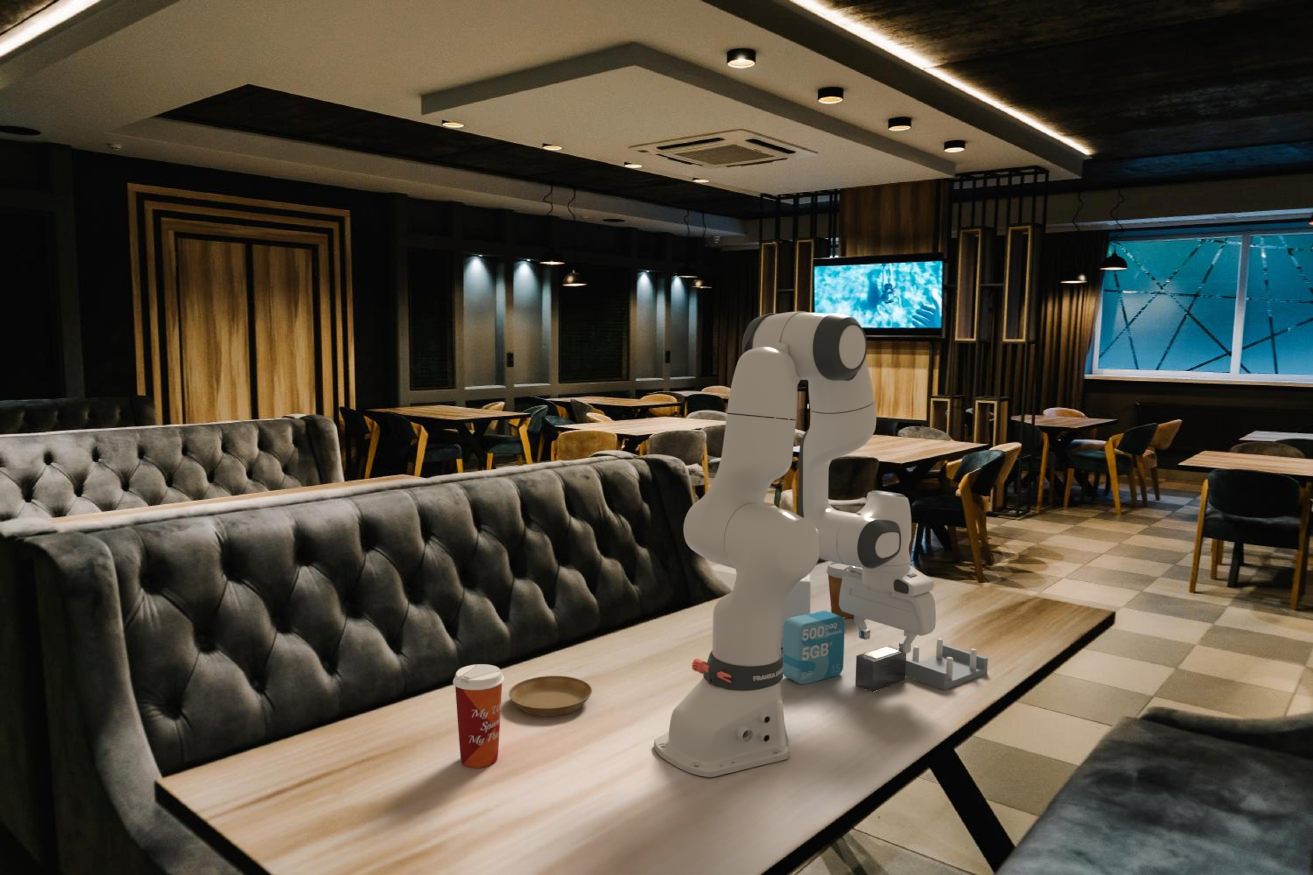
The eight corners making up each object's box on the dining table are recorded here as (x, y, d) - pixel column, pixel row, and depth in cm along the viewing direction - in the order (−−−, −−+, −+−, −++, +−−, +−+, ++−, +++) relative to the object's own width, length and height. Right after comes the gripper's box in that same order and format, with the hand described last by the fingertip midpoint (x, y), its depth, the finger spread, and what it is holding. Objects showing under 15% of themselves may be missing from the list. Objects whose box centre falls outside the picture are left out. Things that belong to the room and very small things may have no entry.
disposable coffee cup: (868, 620, 208) (870, 570, 207) (828, 619, 208) (830, 570, 207) (860, 608, 217) (861, 561, 216) (821, 607, 217) (823, 560, 216)
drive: (872, 692, 164) (873, 660, 164) (855, 686, 168) (856, 654, 167) (905, 680, 171) (906, 650, 170) (888, 674, 174) (889, 644, 173)
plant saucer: (545, 730, 147) (545, 715, 147) (491, 705, 157) (491, 690, 157) (609, 704, 158) (609, 690, 157) (554, 682, 168) (554, 669, 167)
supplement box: (809, 636, 196) (811, 570, 194) (809, 650, 187) (811, 581, 185) (768, 633, 197) (770, 568, 196) (766, 647, 188) (767, 578, 187)
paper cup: (480, 776, 130) (479, 685, 129) (443, 762, 134) (441, 674, 133) (515, 755, 137) (515, 668, 135) (479, 743, 141) (478, 659, 139)
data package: (797, 686, 167) (799, 624, 166) (781, 678, 171) (783, 618, 169) (843, 674, 173) (845, 615, 172) (827, 667, 177) (829, 609, 176)
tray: (944, 690, 166) (945, 663, 165) (899, 674, 174) (900, 648, 173) (987, 673, 175) (988, 647, 174) (943, 658, 182) (944, 634, 182)
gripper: (832, 566, 173) (831, 634, 175) (921, 589, 157) (918, 664, 159) (853, 561, 177) (852, 627, 179) (941, 583, 161) (939, 656, 163)
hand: (884, 645), depth 169 cm, fingers open, 8 cm apart
